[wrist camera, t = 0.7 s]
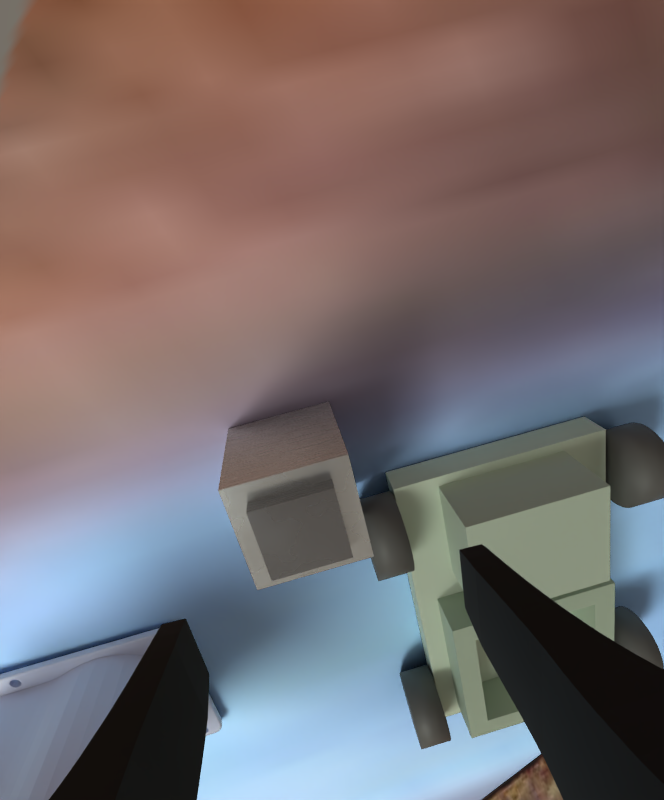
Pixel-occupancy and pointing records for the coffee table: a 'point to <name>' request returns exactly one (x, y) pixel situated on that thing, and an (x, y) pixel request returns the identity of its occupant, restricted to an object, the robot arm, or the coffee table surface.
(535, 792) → the brown rectangular box
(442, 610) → the chassis
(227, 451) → the engine block
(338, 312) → the coffee table surface
